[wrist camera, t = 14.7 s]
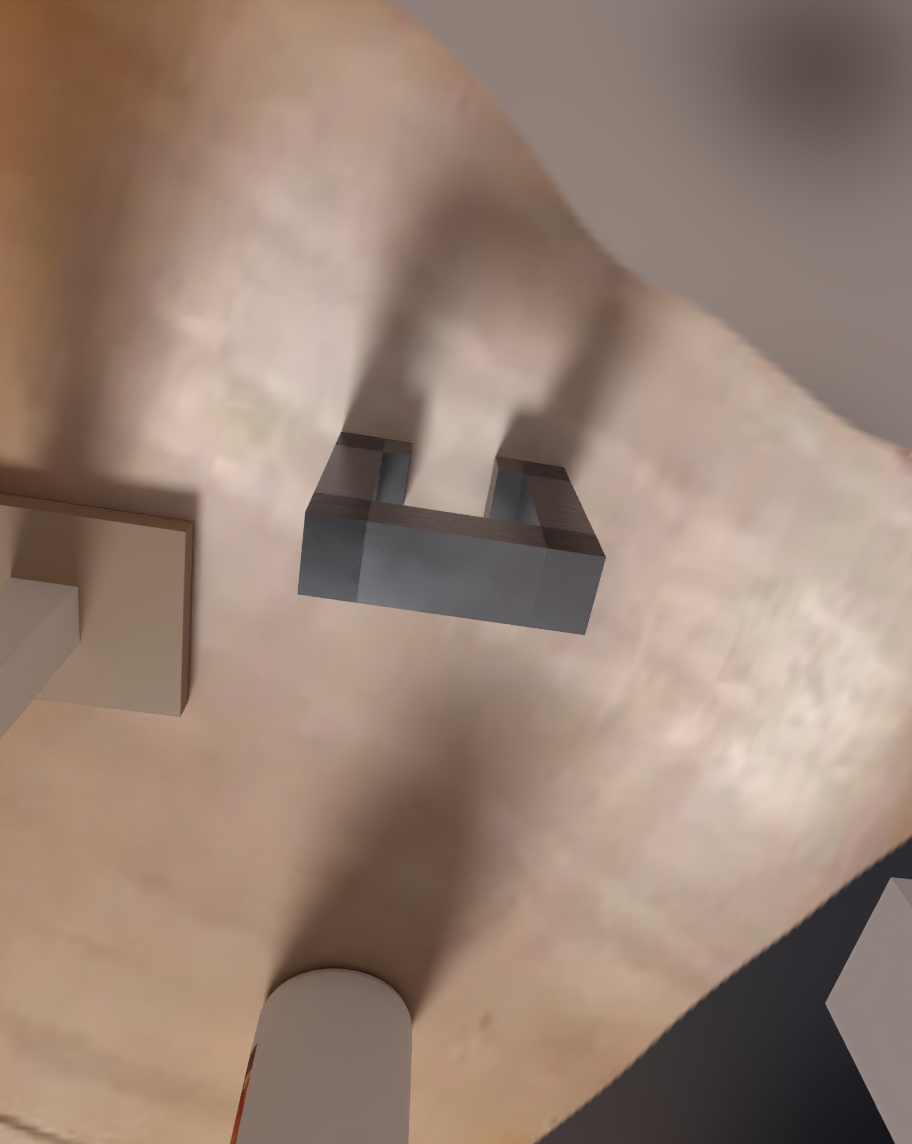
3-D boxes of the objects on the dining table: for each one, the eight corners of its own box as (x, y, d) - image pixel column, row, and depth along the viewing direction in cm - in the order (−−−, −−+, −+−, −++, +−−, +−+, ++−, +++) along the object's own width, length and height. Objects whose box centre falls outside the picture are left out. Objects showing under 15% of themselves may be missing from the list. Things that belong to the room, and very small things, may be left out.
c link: (334, 496, 29) (297, 594, 21) (341, 432, 28) (305, 511, 20) (549, 529, 29) (584, 635, 22) (563, 467, 28) (605, 557, 21)
